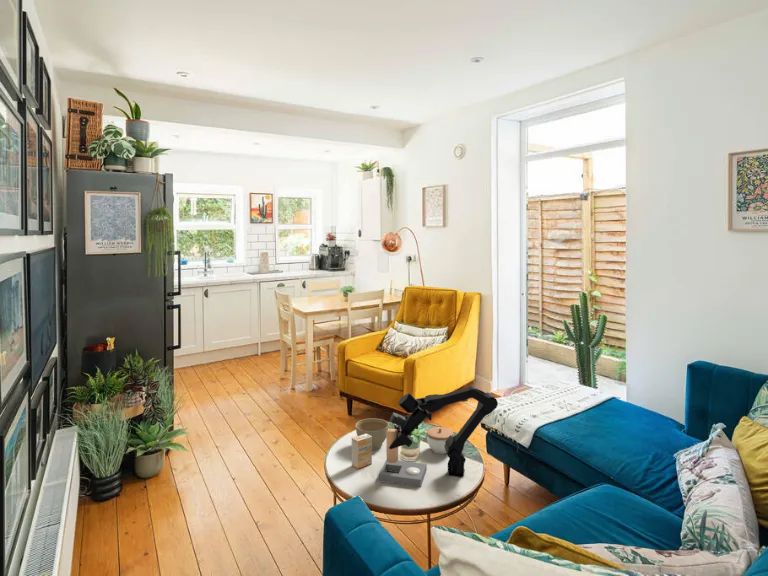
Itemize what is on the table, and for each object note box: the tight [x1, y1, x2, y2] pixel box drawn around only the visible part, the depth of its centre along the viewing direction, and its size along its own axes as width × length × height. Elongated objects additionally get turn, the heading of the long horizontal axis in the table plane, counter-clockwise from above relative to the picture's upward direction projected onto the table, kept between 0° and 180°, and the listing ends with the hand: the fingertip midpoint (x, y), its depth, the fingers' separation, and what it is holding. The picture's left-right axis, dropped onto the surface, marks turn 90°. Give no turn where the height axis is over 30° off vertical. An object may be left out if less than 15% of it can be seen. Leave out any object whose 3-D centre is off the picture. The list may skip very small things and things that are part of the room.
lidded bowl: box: [426, 426, 454, 455], centre depth 226 cm, size 13×13×11 cm
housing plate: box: [378, 459, 428, 488], centre depth 203 cm, size 18×14×3 cm
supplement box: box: [351, 434, 373, 470], centre depth 212 cm, size 8×5×13 cm, turn 130°
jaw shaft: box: [385, 428, 399, 463], centre depth 201 cm, size 5×5×13 cm
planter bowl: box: [355, 417, 389, 450], centre depth 231 cm, size 16×16×11 cm
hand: (389, 445), depth 201 cm, fingers closed on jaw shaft, 5 cm apart
